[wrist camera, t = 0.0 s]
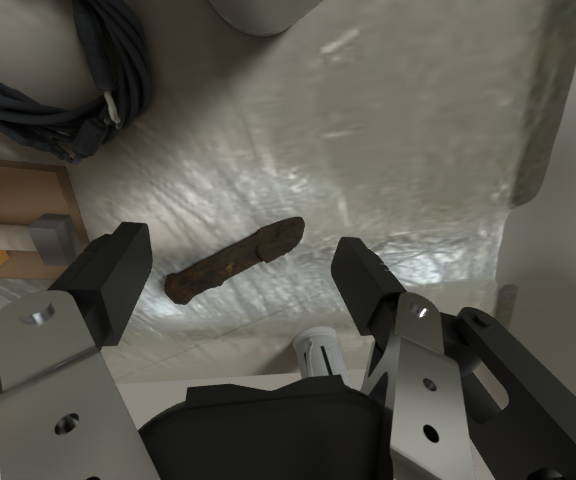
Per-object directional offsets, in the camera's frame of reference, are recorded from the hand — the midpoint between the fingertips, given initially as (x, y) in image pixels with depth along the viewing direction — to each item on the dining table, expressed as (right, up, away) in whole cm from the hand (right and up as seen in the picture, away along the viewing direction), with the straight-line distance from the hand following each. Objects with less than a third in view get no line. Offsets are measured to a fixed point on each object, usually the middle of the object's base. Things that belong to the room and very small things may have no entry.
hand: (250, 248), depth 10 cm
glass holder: (+6, -17, +35) cm, 39 cm away
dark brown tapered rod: (-5, 0, +21) cm, 22 cm away
